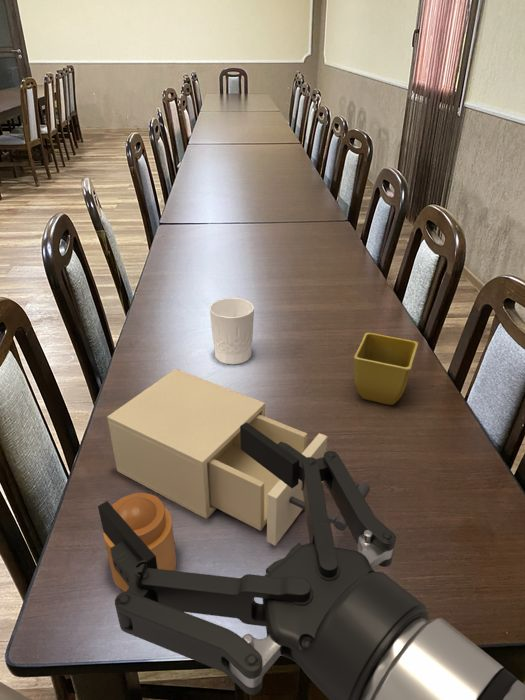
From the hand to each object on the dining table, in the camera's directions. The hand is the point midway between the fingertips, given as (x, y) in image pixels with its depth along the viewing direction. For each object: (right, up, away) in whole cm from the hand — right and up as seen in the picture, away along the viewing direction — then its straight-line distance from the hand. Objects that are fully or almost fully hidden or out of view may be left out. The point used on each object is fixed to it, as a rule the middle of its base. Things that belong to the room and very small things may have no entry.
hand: (180, 472), depth 44 cm
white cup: (+1, +9, +57) cm, 57 cm away
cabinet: (-3, -6, +32) cm, 32 cm away
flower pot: (+26, +2, +46) cm, 53 cm away
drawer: (+8, -9, +25) cm, 28 cm away
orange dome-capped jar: (-7, -15, +17) cm, 24 cm away
